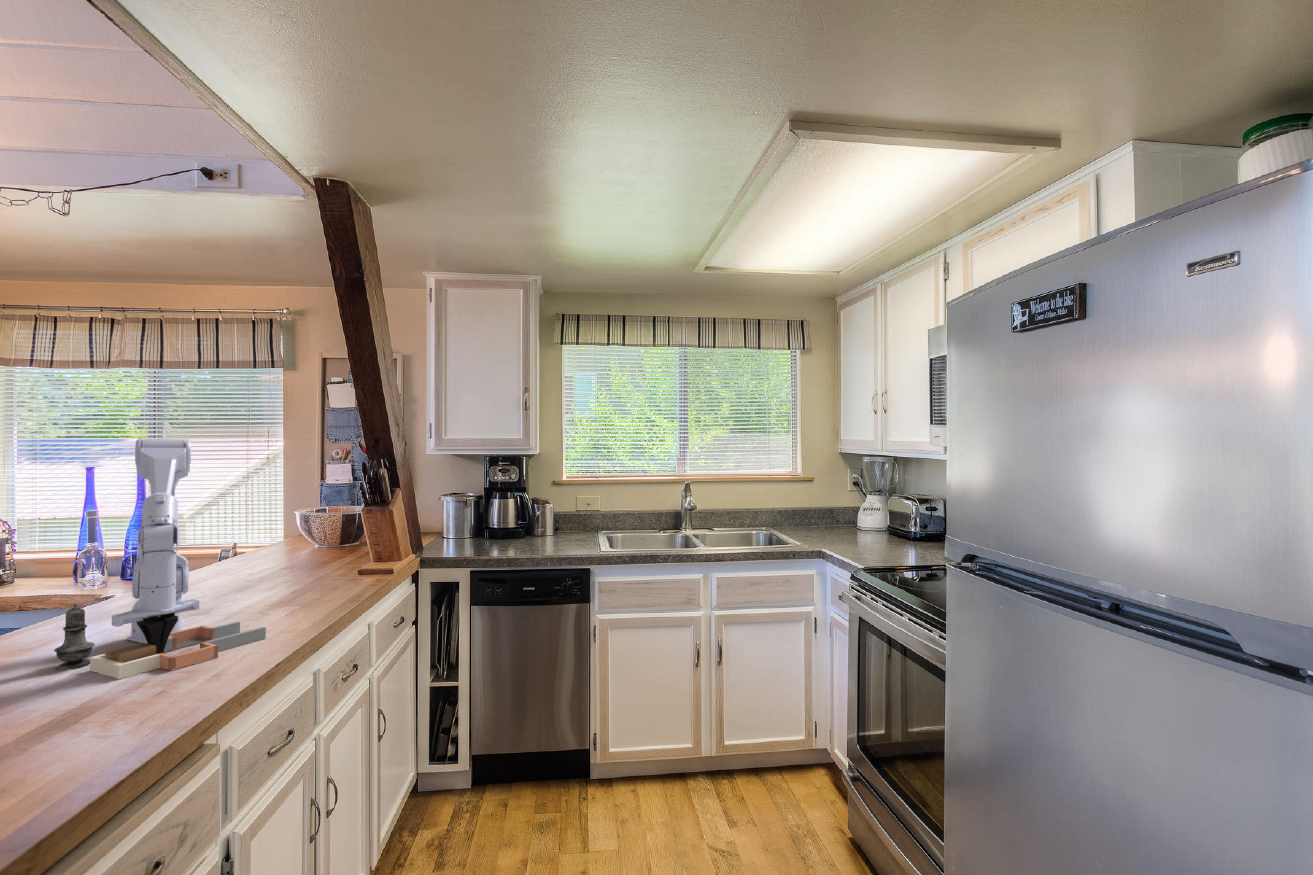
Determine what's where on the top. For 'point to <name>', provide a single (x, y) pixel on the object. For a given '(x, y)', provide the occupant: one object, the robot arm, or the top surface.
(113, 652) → the walnut block
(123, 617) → the robot arm
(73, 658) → the salt shaker
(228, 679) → the top surface
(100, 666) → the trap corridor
